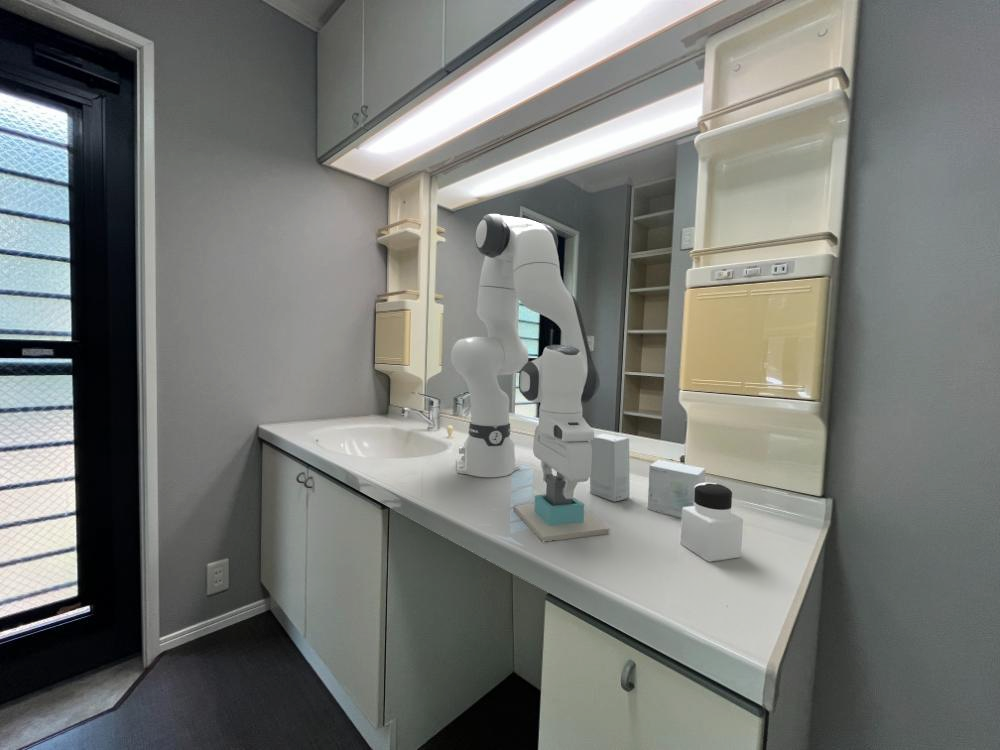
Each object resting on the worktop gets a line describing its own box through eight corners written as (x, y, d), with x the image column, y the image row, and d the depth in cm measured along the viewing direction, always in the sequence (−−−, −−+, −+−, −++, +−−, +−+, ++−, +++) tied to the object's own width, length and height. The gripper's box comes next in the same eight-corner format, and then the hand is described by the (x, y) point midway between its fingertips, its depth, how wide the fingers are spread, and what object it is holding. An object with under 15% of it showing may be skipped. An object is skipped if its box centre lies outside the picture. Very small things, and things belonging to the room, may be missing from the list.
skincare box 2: (646, 509, 94) (648, 464, 94) (656, 502, 99) (658, 458, 99) (695, 522, 88) (698, 473, 87) (703, 513, 92) (706, 467, 92)
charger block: (545, 513, 88) (546, 469, 87) (562, 511, 89) (564, 468, 89) (553, 520, 84) (555, 475, 84) (571, 518, 85) (572, 473, 85)
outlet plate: (513, 510, 92) (514, 490, 92) (570, 504, 96) (571, 485, 96) (542, 542, 77) (543, 518, 77) (608, 533, 81) (609, 511, 81)
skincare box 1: (629, 498, 101) (632, 438, 100) (613, 503, 98) (615, 440, 97) (603, 488, 108) (605, 432, 107) (587, 492, 105) (589, 434, 104)
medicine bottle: (741, 557, 73) (745, 490, 72) (708, 563, 71) (712, 493, 70) (710, 539, 79) (713, 478, 79) (679, 544, 77) (682, 480, 77)
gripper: (527, 415, 94) (525, 475, 95) (568, 434, 75) (565, 509, 76) (552, 415, 96) (550, 473, 97) (599, 433, 77) (595, 506, 78)
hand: (557, 489), depth 86 cm, fingers open, 8 cm apart
